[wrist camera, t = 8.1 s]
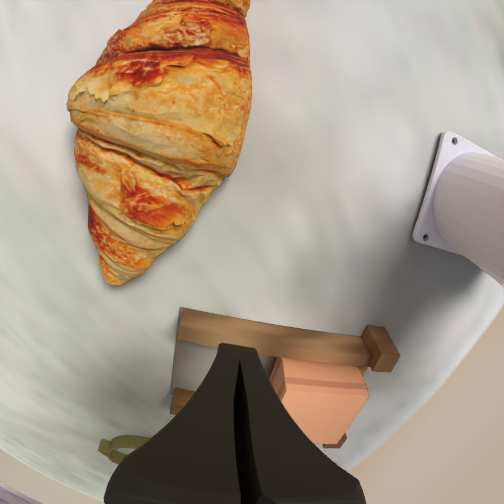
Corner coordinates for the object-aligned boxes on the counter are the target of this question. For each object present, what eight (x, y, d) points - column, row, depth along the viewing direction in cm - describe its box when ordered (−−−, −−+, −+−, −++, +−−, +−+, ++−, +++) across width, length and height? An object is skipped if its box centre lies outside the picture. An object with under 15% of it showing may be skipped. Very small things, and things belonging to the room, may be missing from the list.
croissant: (173, 263, 25) (209, 332, 19) (45, 252, 19) (36, 330, 13) (266, -2, 17) (343, -21, 11) (130, -50, 11) (156, -109, 5)
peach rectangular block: (354, 355, 23) (370, 395, 19) (327, 406, 26) (336, 444, 22) (280, 346, 23) (285, 389, 19) (260, 400, 25) (262, 441, 21)
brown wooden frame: (384, 327, 23) (400, 355, 20) (333, 420, 27) (339, 448, 24) (182, 293, 22) (172, 322, 18) (170, 400, 26) (163, 429, 23)
